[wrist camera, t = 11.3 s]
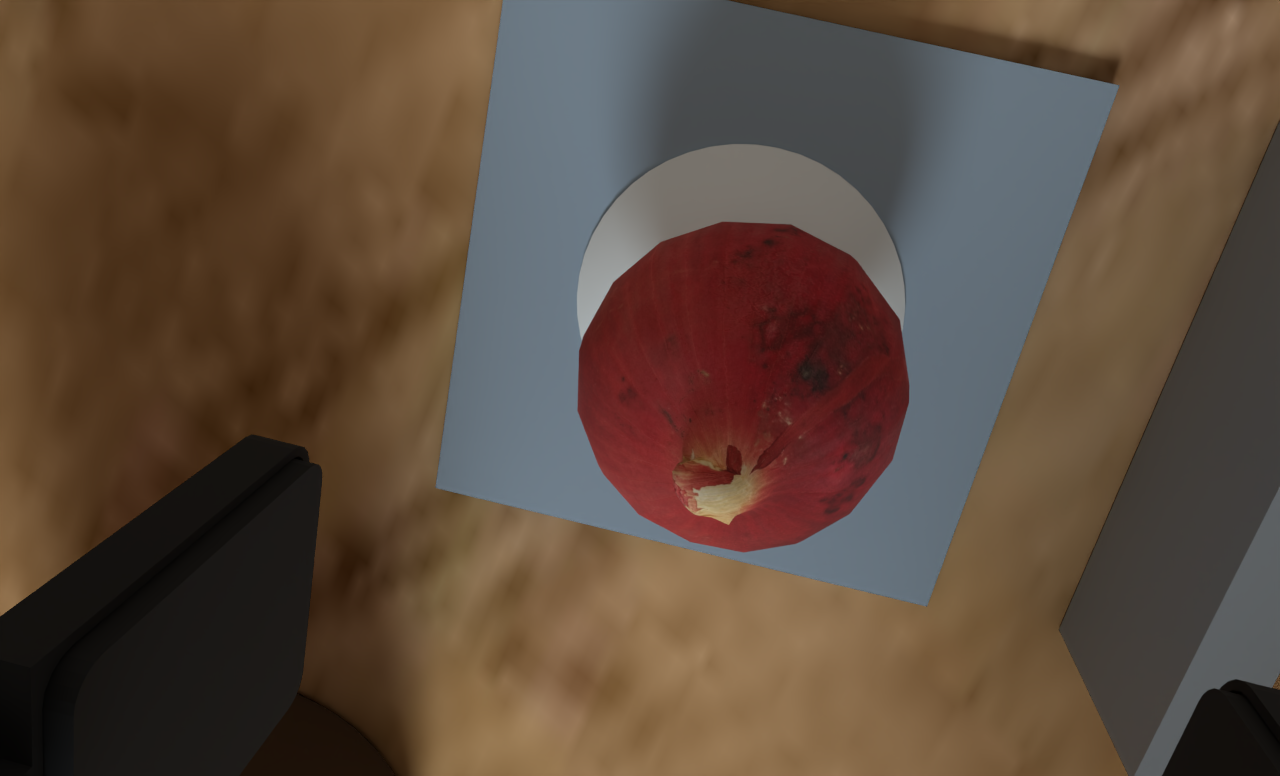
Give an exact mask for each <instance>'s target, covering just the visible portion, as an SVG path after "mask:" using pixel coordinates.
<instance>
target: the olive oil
mask: <svg viewBox="0 0 1280 776" xmlns="http://www.w3.org/2000/svg"><path fill="white" fill-rule="evenodd" d="M239 776H395V775H394V774H393V772H392V770H391V769H390V767H389V766H388V764H387V763H386V762H385V760H384V759H383V758H382V757H381V755H380V754H379V753H378V752H377V750H376V749H375V748H374V747H373V746H372V745H371V744H370V743H369V742H368V741H367V740H366V739H365V738H364V737H363V736H362V735H361V734H360V733H359V732H358V731H357V730H355V729H354V728H353V727H352V726H351V725H349V724H348V723H347V722H345V721H344V720H343V719H341V718H340V717H338V716H337V715H335V714H334V713H332V712H331V711H329V710H328V709H326V708H324V707H322V706H321V705H319V704H317V703H315V702H313V701H311V700H309V699H307V698H305V697H303V696H300V695H298V694H296V696H295V698H294V700H293V703H292V704H291V706H290V707H289V709H288V710H287V712H286V713H285V714H284V716H283V717H282V718H281V720H280V721H279V722H278V724H277V725H276V727H275V728H274V729H273V731H272V732H271V733H270V735H269V736H268V737H267V739H266V740H265V741H264V743H263V744H262V745H261V747H260V748H259V749H258V751H257V752H256V754H255V755H254V756H253V758H252V759H251V760H250V762H249V763H248V764H247V766H246V767H245V768H244V770H243V771H242V772H241V774H240V775H239Z"/></svg>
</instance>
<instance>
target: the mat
mask: <svg viewBox="0 0 1280 776" xmlns="http://www.w3.org/2000/svg"><path fill="white" fill-rule="evenodd" d="M1118 88H1119V85H1116V84H1111V83H1106V82H1102V81H1097V80H1092V79H1088V78H1083V77H1079V76H1074V75H1069V74H1065V73H1060V72H1056V71H1051V70H1046V69H1042V68H1037V67H1033V66H1028V65H1023V64H1019V63H1014V62H1010V61H1005V60H1000V59H996V58H991V57H987V56H982V55H977V54H973V53H968V52H964V51H959V50H954V49H950V48H945V47H940V46H936V45H931V44H927V43H922V42H917V41H913V40H908V39H904V38H899V37H894V36H890V35H885V34H881V33H876V32H871V31H867V30H862V29H858V28H853V27H848V26H844V25H839V24H835V23H830V22H825V21H821V20H816V19H812V18H807V17H802V16H798V15H793V14H788V13H784V12H779V11H775V10H770V9H765V8H761V7H756V6H752V5H747V4H742V3H738V2H733V1H729V0H503V5H502V12H501V19H500V26H499V34H498V41H497V48H496V55H495V62H494V70H493V77H492V84H491V91H490V99H489V106H488V113H487V120H486V127H485V135H484V142H483V149H482V156H481V163H480V171H479V178H478V185H477V192H476V199H475V207H474V214H473V221H472V228H471V236H470V243H469V250H468V257H467V264H466V272H465V279H464V286H463V293H462V300H461V308H460V315H459V322H458V329H457V336H456V344H455V351H454V358H453V365H452V373H451V380H450V387H449V394H448V401H447V409H446V416H445V423H444V430H443V437H442V445H441V452H440V459H439V466H438V473H437V481H436V488H438V489H442V490H446V491H450V492H455V493H459V494H463V495H467V496H471V497H475V498H479V499H484V500H488V501H492V502H496V503H500V504H504V505H508V506H513V507H517V508H521V509H525V510H529V511H533V512H537V513H542V514H546V515H550V516H554V517H558V518H562V519H566V520H571V521H575V522H579V523H583V524H587V525H591V526H595V527H600V528H604V529H608V530H612V531H616V532H620V533H624V534H629V535H633V536H637V537H641V538H645V539H649V540H653V541H658V542H662V543H666V544H670V545H674V546H678V547H682V548H687V549H691V550H695V551H699V552H703V553H707V554H711V555H716V556H720V557H724V558H728V559H732V560H736V561H740V562H745V563H749V564H753V565H757V566H761V567H765V568H769V569H774V570H778V571H782V572H786V573H790V574H794V575H798V576H803V577H807V578H811V579H815V580H819V581H823V582H827V583H832V584H836V585H840V586H844V587H848V588H852V589H856V590H861V591H865V592H869V593H873V594H877V595H881V596H885V597H890V598H894V599H898V600H902V601H906V602H910V603H914V604H919V605H923V606H927V605H928V602H929V599H930V597H931V594H932V591H933V589H934V586H935V583H936V580H937V578H938V575H939V572H940V570H941V567H942V564H943V562H944V559H945V556H946V553H947V551H948V548H949V545H950V543H951V540H952V537H953V535H954V532H955V529H956V526H957V524H958V521H959V518H960V516H961V513H962V510H963V507H964V505H965V502H966V499H967V497H968V494H969V491H970V489H971V486H972V483H973V480H974V478H975V475H976V472H977V470H978V467H979V464H980V461H981V459H982V456H983V453H984V451H985V448H986V445H987V443H988V440H989V437H990V434H991V432H992V429H993V426H994V424H995V421H996V418H997V415H998V413H999V410H1000V407H1001V405H1002V402H1003V399H1004V397H1005V394H1006V391H1007V388H1008V386H1009V383H1010V380H1011V378H1012V375H1013V372H1014V369H1015V367H1016V364H1017V361H1018V359H1019V356H1020V353H1021V351H1022V348H1023V345H1024V342H1025V340H1026V337H1027V334H1028V332H1029V329H1030V326H1031V324H1032V321H1033V318H1034V315H1035V313H1036V310H1037V307H1038V305H1039V302H1040V299H1041V296H1042V294H1043V291H1044V288H1045V286H1046V283H1047V280H1048V278H1049V275H1050V272H1051V269H1052V267H1053V264H1054V261H1055V259H1056V256H1057V253H1058V250H1059V248H1060V245H1061V242H1062V240H1063V237H1064V234H1065V232H1066V229H1067V226H1068V223H1069V221H1070V218H1071V215H1072V213H1073V210H1074V207H1075V204H1076V202H1077V199H1078V196H1079V194H1080V191H1081V188H1082V186H1083V183H1084V180H1085V177H1086V175H1087V172H1088V169H1089V167H1090V164H1091V161H1092V159H1093V156H1094V153H1095V150H1096V148H1097V145H1098V142H1099V140H1100V137H1101V134H1102V131H1103V129H1104V126H1105V123H1106V121H1107V118H1108V115H1109V113H1110V110H1111V107H1112V104H1113V102H1114V99H1115V96H1116V94H1117V91H1118ZM720 222H746V223H770V224H791V225H793V226H795V227H797V228H799V229H801V230H803V231H805V232H807V233H809V234H811V235H813V236H815V237H817V238H819V239H821V240H823V241H824V242H826V243H828V244H830V245H832V246H834V247H836V248H838V249H840V250H842V251H844V252H846V253H848V254H850V255H851V256H852V257H853V258H854V259H856V260H857V261H858V263H859V264H860V266H861V267H862V268H863V270H864V271H865V272H866V274H867V275H868V276H869V278H870V279H871V281H872V282H873V283H874V285H875V286H876V287H877V289H878V290H879V292H880V293H881V294H882V296H883V297H884V298H885V300H886V301H887V303H888V304H889V305H890V307H891V308H892V309H893V311H894V312H895V314H896V315H897V316H898V318H899V319H900V324H901V331H902V337H903V344H904V351H905V358H906V365H907V372H908V378H909V385H910V386H909V405H908V408H907V412H906V415H905V419H904V422H903V426H902V429H901V432H900V436H899V439H898V443H897V446H896V450H895V453H894V457H893V460H892V462H891V463H890V464H889V466H888V467H887V468H886V469H885V471H884V472H883V473H882V474H881V476H880V477H879V478H878V479H877V481H876V482H875V483H874V484H873V486H872V487H871V488H870V489H869V491H868V492H867V493H866V494H865V496H864V497H863V498H862V499H861V501H860V502H859V503H858V504H857V506H856V507H855V508H854V509H853V511H852V512H851V513H850V514H849V515H847V516H845V517H844V518H842V519H840V520H838V521H837V522H835V523H833V524H831V525H830V526H828V527H826V528H824V529H823V530H821V531H819V532H817V533H816V534H814V535H812V536H810V537H809V538H807V539H805V540H803V541H801V542H799V543H797V544H792V545H786V546H780V547H774V548H768V549H762V550H756V551H750V552H744V553H743V552H738V551H733V550H728V549H723V548H718V547H713V546H708V545H703V544H698V543H693V542H689V541H687V540H686V539H684V538H682V537H680V536H678V535H676V534H674V533H672V532H670V531H669V530H667V529H665V528H663V527H661V526H659V525H657V524H655V523H653V522H652V521H650V520H648V519H646V518H644V517H642V516H640V515H639V514H638V513H637V512H636V511H635V510H634V509H633V508H632V506H631V505H630V504H629V503H628V502H627V501H626V500H625V498H624V497H623V496H622V495H621V494H620V493H619V492H618V490H617V489H616V488H615V487H614V486H613V485H612V484H611V482H610V481H609V480H608V479H607V478H606V477H605V475H604V474H603V473H602V471H601V469H600V467H599V465H598V463H597V460H596V458H595V455H594V453H593V450H592V447H591V445H590V442H589V440H588V437H587V434H586V432H585V429H584V427H583V424H582V422H581V419H580V416H579V414H578V411H577V407H578V369H579V349H580V346H581V342H582V339H583V336H584V334H585V332H586V330H587V328H588V327H589V325H590V323H591V321H592V319H593V318H594V316H595V314H596V312H597V310H598V309H599V307H600V305H601V303H602V301H603V300H604V298H605V296H606V294H607V292H608V291H609V289H610V287H611V285H612V283H613V282H614V281H615V280H616V279H618V278H619V277H620V276H621V275H622V274H623V273H625V272H626V271H627V270H628V269H629V268H630V267H632V266H633V265H634V264H635V263H636V262H638V261H639V260H640V259H641V258H642V257H643V256H645V255H646V254H647V253H648V252H649V251H650V250H652V249H653V248H654V247H655V246H656V245H658V244H659V243H660V242H662V241H665V240H668V239H671V238H674V237H677V236H680V235H683V234H686V233H689V232H692V231H695V230H698V229H701V228H704V227H707V226H710V225H714V224H717V223H720Z"/></svg>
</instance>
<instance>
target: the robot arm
mask: <svg viewBox="0 0 1280 776" xmlns="http://www.w3.org/2000/svg"><path fill="white" fill-rule="evenodd" d="M321 487H322V470H321V467H320V466H319V465H318V464H314V463H310V462H309V456H308V452H307V450H306V449H305V448H304V447H301V446H297V445H293V444H289V443H285V442H281V441H277V440H273V439H269V438H265V437H261V436H257V435H250V436H248V437H245V438H244V439H243V440H241V441H240V442H239V443H237V444H236V445H234V446H233V447H232V448H230V449H229V450H228V451H226V452H225V453H223V454H222V455H221V456H219V457H218V458H217V459H215V460H214V461H213V462H211V463H210V464H208V465H207V466H206V467H204V468H203V469H202V470H200V471H199V472H197V473H196V474H195V475H193V476H192V477H191V478H189V479H188V480H187V481H185V482H184V483H182V484H181V485H180V486H178V487H177V488H176V489H174V490H173V491H171V492H170V493H169V494H167V495H166V496H165V497H163V498H162V499H161V500H159V501H158V502H156V503H155V504H154V505H152V506H151V507H150V508H148V509H147V510H145V511H144V512H143V513H141V514H140V515H139V516H137V517H136V518H135V519H133V520H132V521H130V522H129V523H128V524H126V525H125V526H124V527H122V528H121V529H119V530H118V531H117V532H115V533H114V534H113V535H111V536H110V537H108V538H107V539H106V540H104V541H103V542H102V543H100V544H99V545H98V546H96V547H95V548H93V549H92V550H91V551H89V552H88V553H87V554H85V555H84V556H82V557H81V558H80V559H78V560H77V561H76V562H74V563H73V564H72V565H70V566H69V567H67V568H66V569H65V570H63V571H62V572H61V573H59V574H58V575H56V576H55V577H54V578H52V579H51V580H50V581H48V582H47V583H46V584H44V585H43V586H41V587H40V588H39V589H37V590H36V591H35V592H33V593H32V594H30V595H29V596H28V597H26V598H25V599H24V600H22V601H21V602H19V603H18V604H17V605H15V606H14V607H13V608H11V609H10V610H9V611H7V612H6V613H4V614H3V615H2V616H0V776H239V775H240V774H241V772H242V771H243V770H244V768H245V767H246V766H247V764H248V763H249V762H250V760H251V759H252V758H253V756H254V755H255V754H256V752H257V751H258V749H259V748H260V747H261V745H262V744H263V743H264V741H265V740H266V739H267V737H268V736H269V735H270V733H271V732H272V731H273V729H274V728H275V727H276V725H277V724H278V722H279V721H280V720H281V718H282V717H283V716H284V714H285V713H286V712H287V710H288V709H289V707H290V706H291V704H292V703H293V700H294V698H295V696H296V694H297V692H298V689H299V686H300V683H301V679H302V674H303V667H304V657H305V647H306V637H307V627H308V617H309V607H310V597H311V587H312V577H313V567H314V557H315V547H316V537H317V527H318V517H319V507H320V497H321ZM1162 776H1280V690H1278V689H1274V688H1270V687H1266V686H1262V685H1258V684H1254V683H1250V682H1246V681H1242V680H1238V679H1235V680H1231V681H1228V682H1227V683H1225V684H1224V685H1223V686H1222V687H1221V688H1220V690H1219V689H1215V688H1213V689H1209V690H1208V691H1206V692H1205V693H1204V694H1203V695H1202V697H1201V698H1200V700H1199V702H1198V704H1197V706H1196V708H1195V710H1194V712H1193V714H1192V716H1191V718H1190V720H1189V722H1188V724H1187V726H1186V728H1185V730H1184V732H1183V734H1182V736H1181V738H1180V740H1179V742H1178V744H1177V746H1176V748H1175V750H1174V752H1173V754H1172V756H1171V758H1170V760H1169V762H1168V764H1167V766H1166V768H1165V770H1164V772H1163V775H1162Z"/></svg>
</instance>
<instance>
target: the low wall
mask: <svg viewBox="0 0 1280 776" xmlns="http://www.w3.org/2000/svg"><path fill="white" fill-rule="evenodd" d="M1059 631H1060V633H1061V635H1062V637H1063V639H1064V641H1065V643H1066V645H1067V648H1068V650H1069V652H1070V654H1071V656H1072V658H1073V660H1074V662H1075V664H1076V666H1077V669H1078V671H1079V673H1080V675H1081V677H1082V679H1083V681H1084V683H1085V685H1086V687H1087V690H1088V692H1089V694H1090V696H1091V698H1092V700H1093V702H1094V704H1095V706H1096V708H1097V711H1098V713H1099V715H1100V717H1101V719H1102V721H1103V723H1104V725H1105V727H1106V729H1107V732H1108V734H1109V736H1110V738H1111V740H1112V742H1113V744H1114V746H1115V748H1116V750H1117V753H1118V755H1119V757H1120V759H1121V761H1122V763H1123V765H1124V767H1125V769H1126V771H1127V774H1128V776H1162V775H1163V772H1164V770H1165V768H1166V766H1167V764H1168V762H1169V760H1170V758H1171V756H1172V754H1173V752H1174V750H1175V748H1176V746H1177V744H1178V742H1179V740H1180V738H1181V736H1182V734H1183V732H1184V730H1185V728H1186V726H1187V724H1188V722H1189V720H1190V718H1191V716H1192V714H1193V712H1194V710H1195V708H1196V706H1197V704H1198V702H1199V700H1200V698H1201V697H1202V695H1203V694H1204V693H1205V692H1206V691H1208V690H1209V689H1213V688H1215V689H1219V690H1220V688H1221V687H1222V686H1223V685H1224V684H1225V683H1227V682H1228V681H1231V680H1235V679H1238V680H1242V681H1246V682H1250V683H1254V684H1258V685H1262V686H1266V687H1270V688H1272V687H1273V685H1274V683H1275V681H1276V679H1277V677H1278V676H1279V674H1280V122H1279V124H1278V126H1277V129H1276V131H1275V133H1274V136H1273V138H1272V140H1271V142H1270V145H1269V147H1268V149H1267V152H1266V154H1265V156H1264V159H1263V161H1262V163H1261V165H1260V168H1259V170H1258V172H1257V175H1256V177H1255V179H1254V182H1253V184H1252V186H1251V189H1250V191H1249V193H1248V195H1247V198H1246V200H1245V202H1244V205H1243V207H1242V209H1241V212H1240V214H1239V216H1238V218H1237V221H1236V223H1235V225H1234V228H1233V230H1232V232H1231V235H1230V237H1229V239H1228V241H1227V244H1226V246H1225V248H1224V251H1223V253H1222V255H1221V258H1220V260H1219V262H1218V264H1217V267H1216V269H1215V271H1214V274H1213V276H1212V278H1211V281H1210V283H1209V285H1208V288H1207V290H1206V292H1205V294H1204V297H1203V299H1202V301H1201V304H1200V306H1199V308H1198V311H1197V313H1196V315H1195V317H1194V320H1193V322H1192V324H1191V327H1190V329H1189V331H1188V334H1187V336H1186V338H1185V340H1184V343H1183V345H1182V347H1181V350H1180V352H1179V354H1178V357H1177V359H1176V361H1175V364H1174V366H1173V368H1172V370H1171V373H1170V375H1169V377H1168V380H1167V382H1166V384H1165V387H1164V389H1163V391H1162V393H1161V396H1160V398H1159V400H1158V403H1157V405H1156V407H1155V410H1154V412H1153V414H1152V416H1151V419H1150V421H1149V423H1148V426H1147V428H1146V430H1145V433H1144V435H1143V437H1142V439H1141V442H1140V444H1139V446H1138V449H1137V451H1136V453H1135V456H1134V458H1133V460H1132V463H1131V465H1130V467H1129V469H1128V472H1127V474H1126V476H1125V479H1124V481H1123V483H1122V486H1121V488H1120V490H1119V492H1118V495H1117V497H1116V499H1115V502H1114V504H1113V506H1112V509H1111V511H1110V513H1109V515H1108V518H1107V520H1106V522H1105V525H1104V527H1103V529H1102V532H1101V534H1100V536H1099V539H1098V541H1097V543H1096V545H1095V548H1094V550H1093V552H1092V555H1091V557H1090V559H1089V562H1088V564H1087V566H1086V568H1085V571H1084V573H1083V575H1082V578H1081V580H1080V582H1079V585H1078V587H1077V589H1076V591H1075V594H1074V596H1073V598H1072V601H1071V603H1070V605H1069V608H1068V610H1067V612H1066V614H1065V617H1064V619H1063V621H1062V624H1061V626H1060V628H1059Z"/></svg>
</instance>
